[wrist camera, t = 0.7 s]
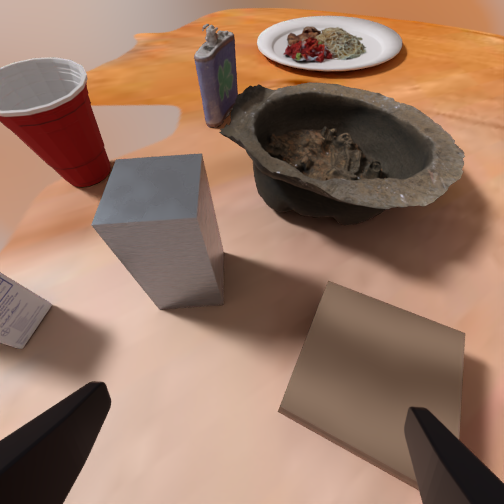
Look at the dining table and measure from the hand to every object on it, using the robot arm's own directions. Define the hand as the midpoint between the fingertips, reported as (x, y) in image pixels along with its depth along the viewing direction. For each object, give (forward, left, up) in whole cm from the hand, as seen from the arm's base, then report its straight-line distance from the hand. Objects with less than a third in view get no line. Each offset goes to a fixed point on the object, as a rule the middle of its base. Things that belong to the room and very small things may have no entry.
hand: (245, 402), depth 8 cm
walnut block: (+6, -6, -15) cm, 17 cm away
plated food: (+69, +16, -15) cm, 73 cm away
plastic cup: (+16, +33, -14) cm, 40 cm away
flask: (+37, +24, -14) cm, 47 cm away
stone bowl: (+28, +3, -15) cm, 32 cm away
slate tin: (+8, +11, -14) cm, 20 cm away
